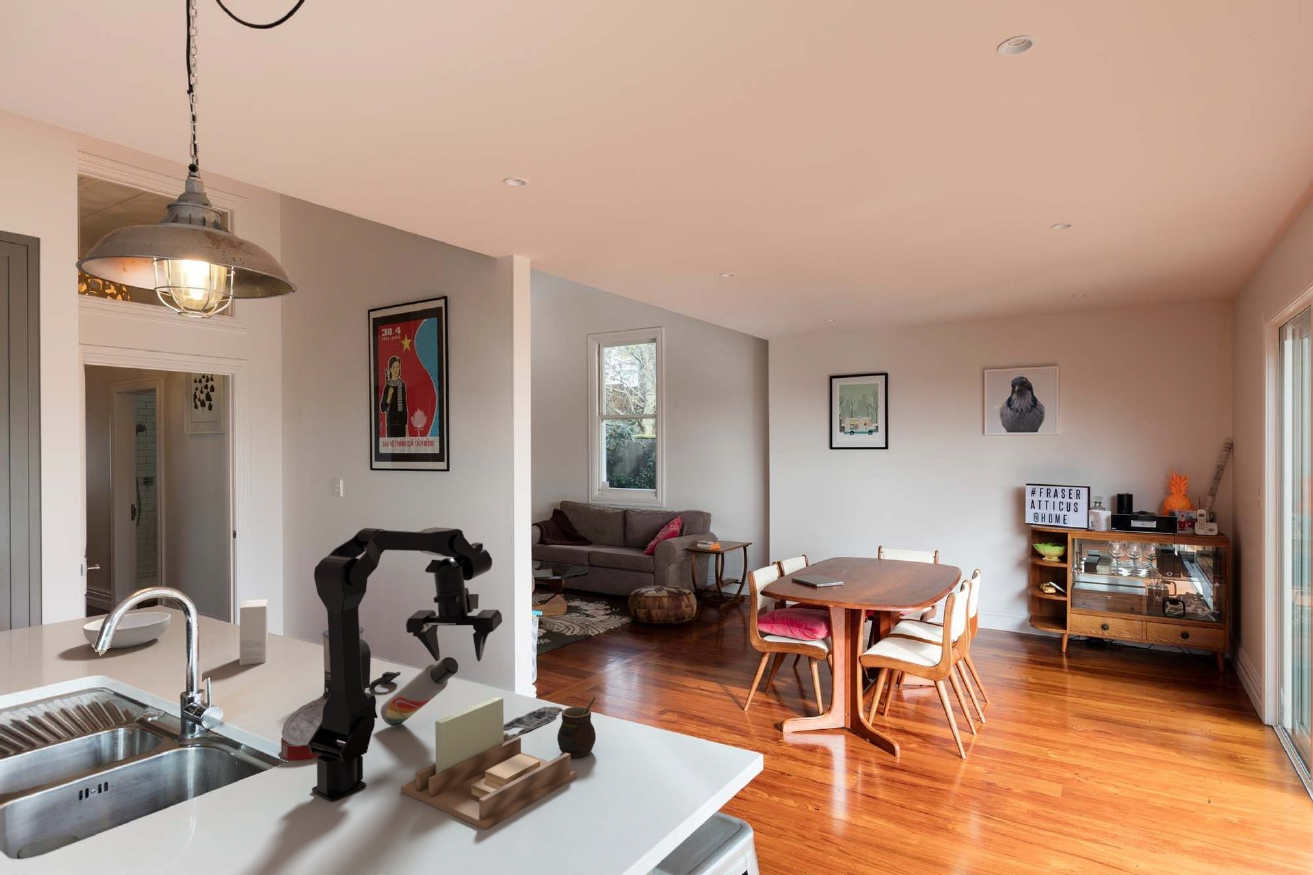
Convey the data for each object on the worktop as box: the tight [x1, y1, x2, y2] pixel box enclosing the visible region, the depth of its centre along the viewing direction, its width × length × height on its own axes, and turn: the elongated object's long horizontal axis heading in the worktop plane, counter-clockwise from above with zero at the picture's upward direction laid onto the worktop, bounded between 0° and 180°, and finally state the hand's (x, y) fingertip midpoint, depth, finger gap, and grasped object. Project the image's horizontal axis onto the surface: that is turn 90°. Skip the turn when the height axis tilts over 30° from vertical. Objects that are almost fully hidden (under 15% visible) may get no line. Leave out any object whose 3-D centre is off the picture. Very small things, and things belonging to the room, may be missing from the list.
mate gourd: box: [556, 696, 597, 759], centre depth 140 cm, size 7×8×10 cm
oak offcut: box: [485, 754, 540, 786], centre depth 126 cm, size 8×5×2 cm, turn 145°
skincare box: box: [239, 598, 269, 667], centre depth 198 cm, size 8×7×16 cm
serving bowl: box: [82, 611, 172, 649], centre depth 215 cm, size 21×21×7 cm
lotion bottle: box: [380, 656, 459, 727], centre depth 151 cm, size 6×6×20 cm
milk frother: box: [321, 626, 402, 700], centre depth 175 cm, size 14×16×15 cm
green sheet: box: [434, 696, 505, 774], centre depth 130 cm, size 14×2×11 cm, turn 145°
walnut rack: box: [400, 731, 577, 831], centre depth 127 cm, size 21×21×4 cm
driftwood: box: [504, 706, 564, 740], centre depth 153 cm, size 21×7×2 cm, turn 142°
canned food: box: [280, 698, 327, 762], centre depth 142 cm, size 11×10×10 cm
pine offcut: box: [472, 778, 502, 798], centre depth 125 cm, size 11×6×2 cm, turn 145°
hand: (458, 660), depth 152 cm, fingers open, 9 cm apart
